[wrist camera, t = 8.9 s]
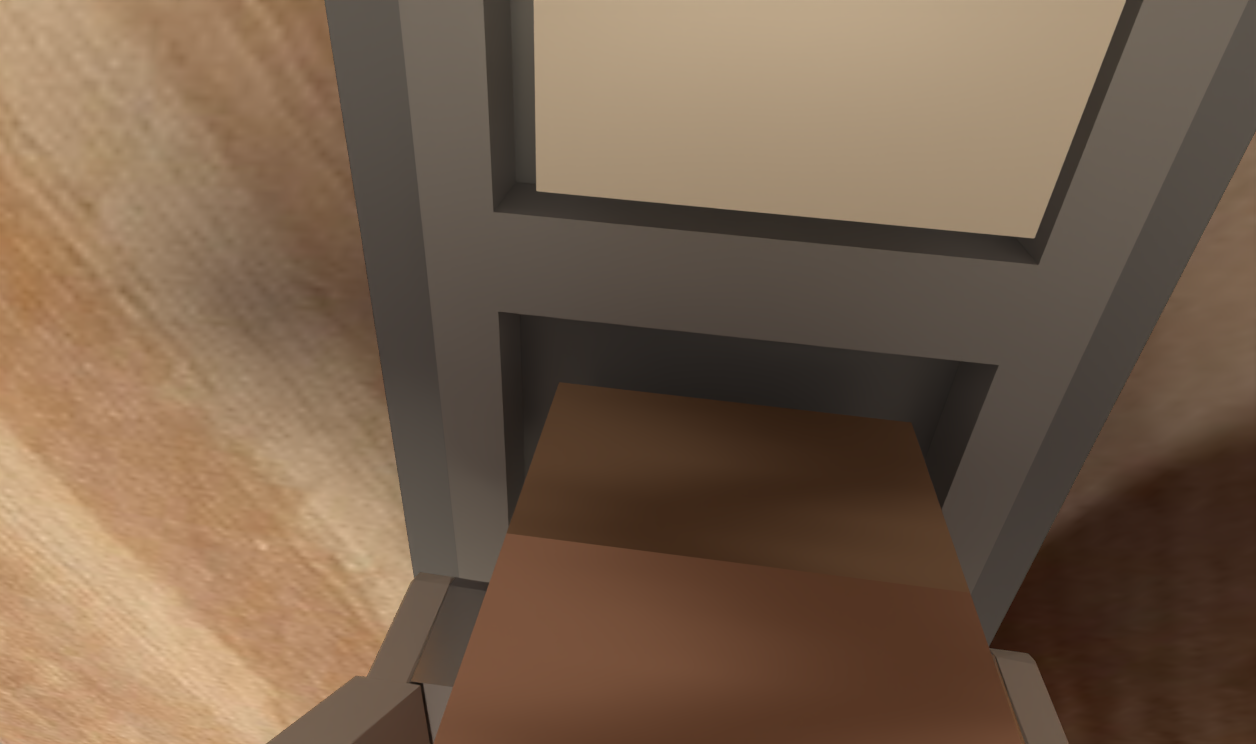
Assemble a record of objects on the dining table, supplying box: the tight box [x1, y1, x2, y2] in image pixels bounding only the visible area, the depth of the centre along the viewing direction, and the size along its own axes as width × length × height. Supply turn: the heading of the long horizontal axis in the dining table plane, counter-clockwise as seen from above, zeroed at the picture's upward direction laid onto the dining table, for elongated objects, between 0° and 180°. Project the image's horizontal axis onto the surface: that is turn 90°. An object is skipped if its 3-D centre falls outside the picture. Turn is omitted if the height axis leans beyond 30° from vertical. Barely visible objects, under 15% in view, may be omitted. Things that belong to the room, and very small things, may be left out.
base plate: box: [325, 0, 1256, 646], centre depth 10 cm, size 20×12×4 cm, turn 177°
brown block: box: [433, 382, 1022, 744], centre depth 9 cm, size 5×5×6 cm
